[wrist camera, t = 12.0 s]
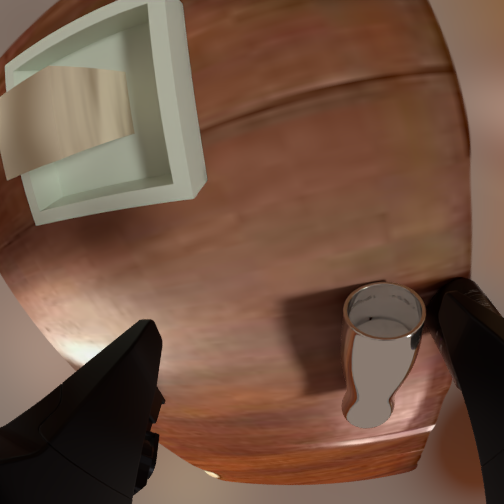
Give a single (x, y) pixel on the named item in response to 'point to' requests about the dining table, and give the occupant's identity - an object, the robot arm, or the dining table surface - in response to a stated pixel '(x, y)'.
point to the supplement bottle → (432, 314)
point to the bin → (142, 110)
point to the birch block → (61, 115)
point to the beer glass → (378, 348)
